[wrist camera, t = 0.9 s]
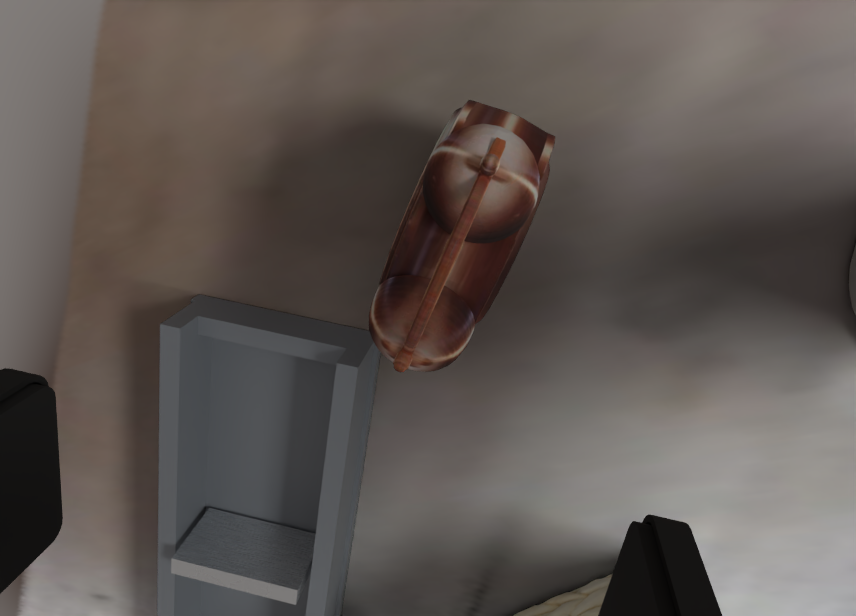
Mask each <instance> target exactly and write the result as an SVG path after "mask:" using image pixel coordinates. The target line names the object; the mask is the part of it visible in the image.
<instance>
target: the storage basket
mask: <svg viewBox="0 0 856 616" xmlns="http://www.w3.org/2000/svg"><path fill="white" fill-rule="evenodd" d="M611 577H612V574H611V575H609V576H606V577H604V578H602V579H596V580H594V581H591V582H590V583H589V584H587V585H585V586H583V587H581V588H578V589H576V590H574V591H571V592H565V593H563V594H561V595H558V596H555V597H553V598H551V599H549V600H547V601H546V602H544V603H541V604H540V605H534V606H532V607H530V608H528V609H526V610H523V611H521V612H518V613H517V614H515V615H513V616H598V615H599V612H600V609H601V606H602V603H603V600H604V597H605V594H606V592H607V589H608V586H609V583H610V580H611Z"/></svg>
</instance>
